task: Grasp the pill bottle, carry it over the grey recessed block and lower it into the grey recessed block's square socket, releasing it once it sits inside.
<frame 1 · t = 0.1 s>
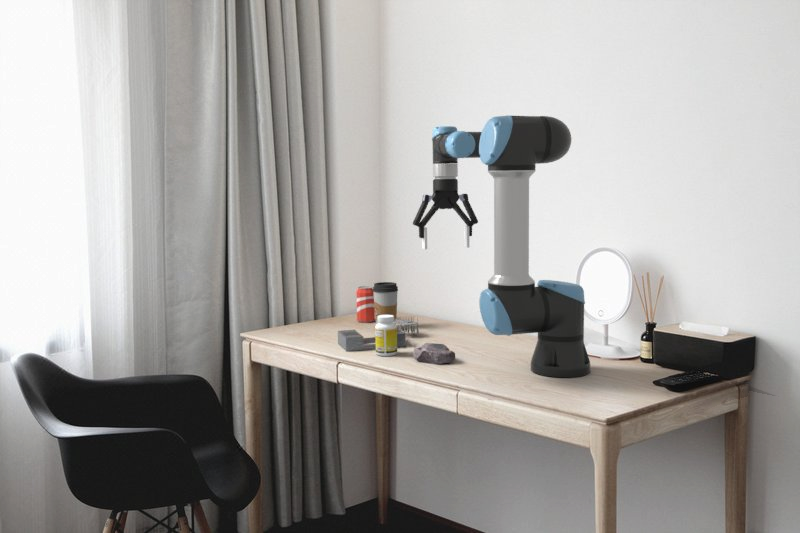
hand: (445, 248, 254), 28 cm above the table, fingers open, 13 cm apart
coffee cup: (386, 329, 273), on the table
grey recessed block: (371, 345, 248), on the table
beverage can: (365, 322, 287), on the table
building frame: (406, 336, 262), on the table
rock: (433, 362, 228), on the table
pill bottle: (386, 354, 236), on the table
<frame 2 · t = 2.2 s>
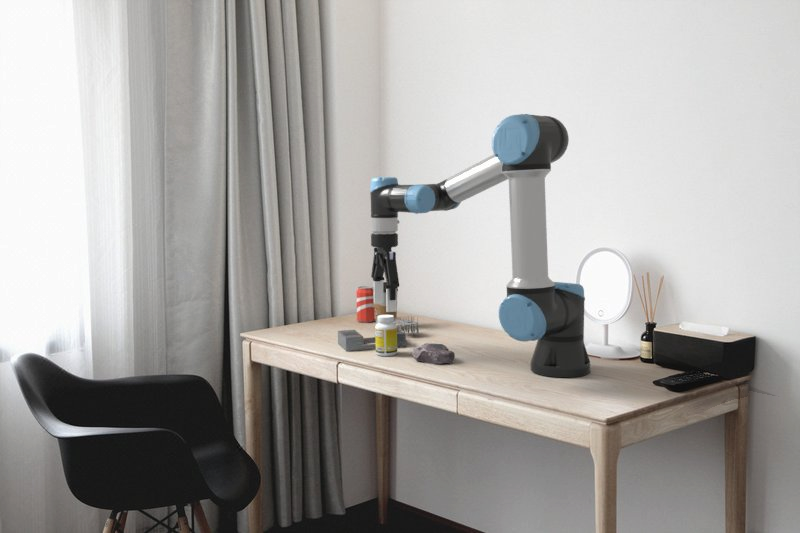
hand: (384, 307, 235), 13 cm above the table, fingers open, 13 cm apart
nothing on the table moved.
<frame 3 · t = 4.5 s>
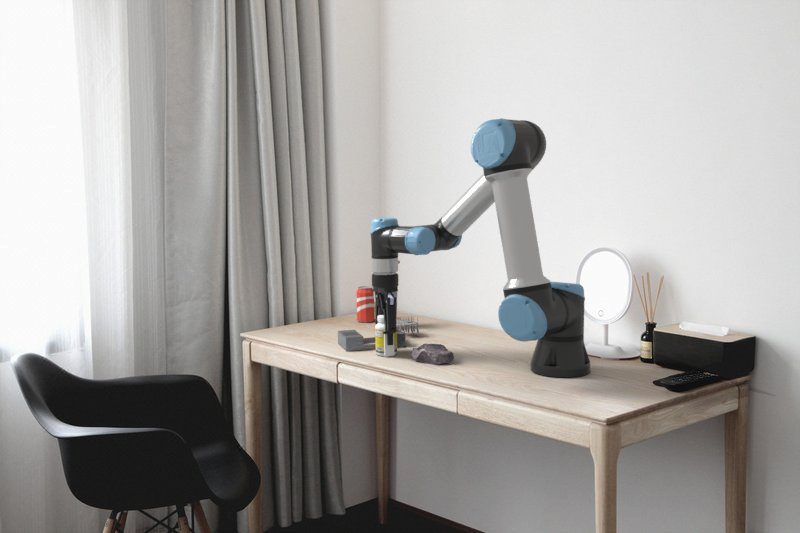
hand: (386, 353, 236), 0 cm above the table, fingers closed on pill bottle, 6 cm apart
pill bottle: (386, 354, 236), on the table, touching gripper
everything else where it was.
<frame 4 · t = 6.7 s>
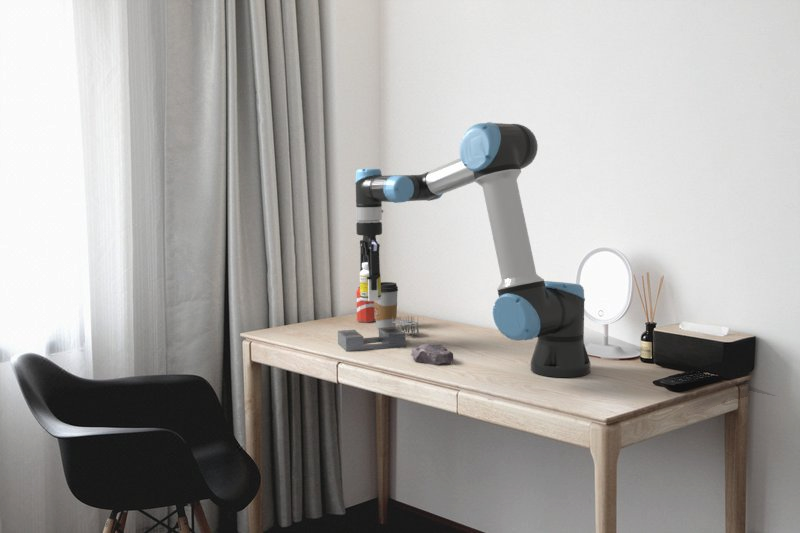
hand: (370, 299, 247), 14 cm above the table, fingers closed on pill bottle, 6 cm apart
pill bottle: (370, 300, 247), point 14 cm above the table, touching gripper
everything else where it was.
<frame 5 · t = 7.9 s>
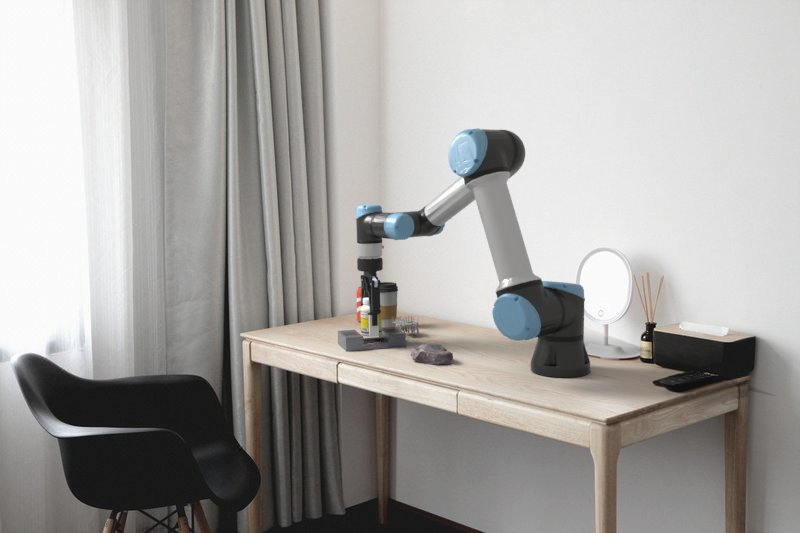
hand: (371, 333, 248), 3 cm above the table, fingers closed on pill bottle, 6 cm apart
pill bottle: (371, 335, 248), point 3 cm above the table, touching gripper
when the fingers open (2 cm above the table, at t = 8.9 s): pill bottle drops 2 cm, resting in grey recessed block.
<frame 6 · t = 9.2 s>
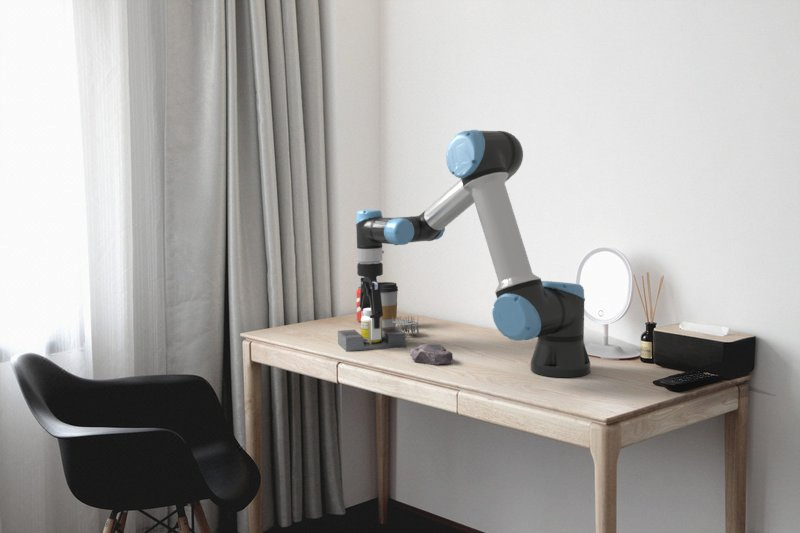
hand: (371, 335, 248), 3 cm above the table, fingers open, 10 cm apart
pill bottle: (371, 345, 248), resting in grey recessed block
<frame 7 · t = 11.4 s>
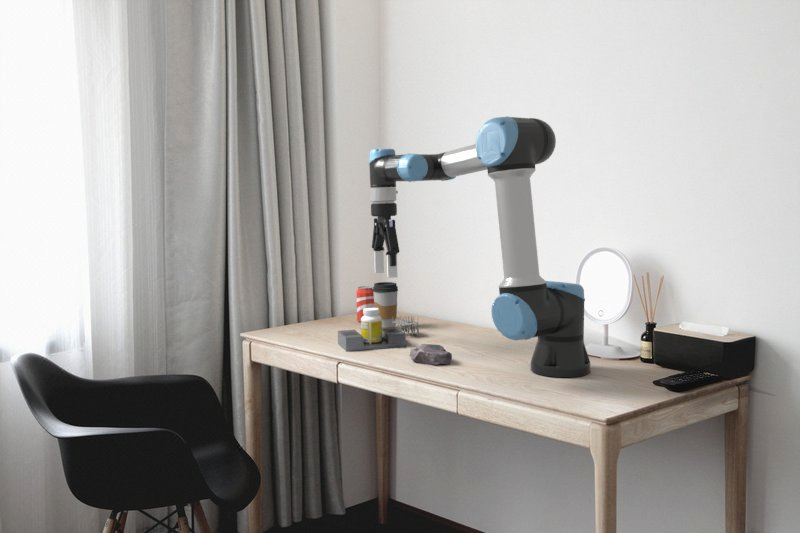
hand: (385, 275, 243), 21 cm above the table, fingers open, 13 cm apart
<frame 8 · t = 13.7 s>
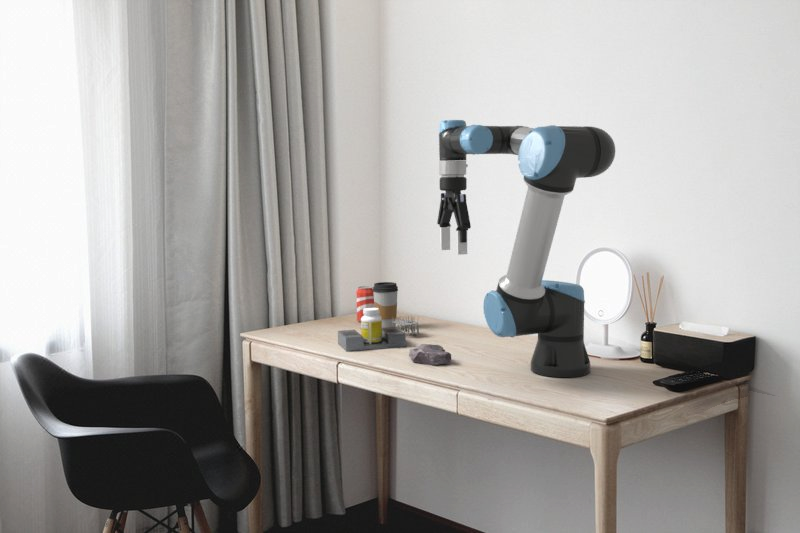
hand: (453, 252, 234), 29 cm above the table, fingers open, 13 cm apart
at the end: pill bottle 0.1 cm from the grey recessed block (horizontally); pill bottle tilted 0°; pill bottle touching table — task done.
